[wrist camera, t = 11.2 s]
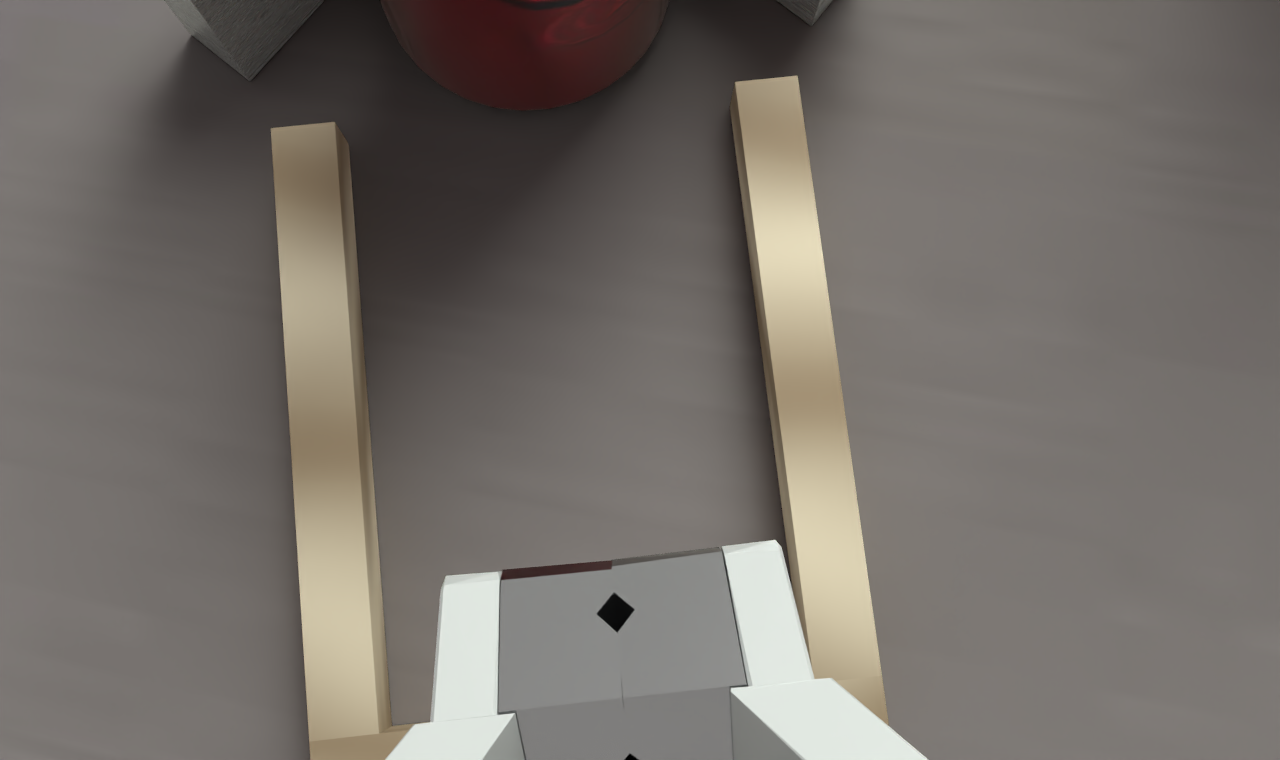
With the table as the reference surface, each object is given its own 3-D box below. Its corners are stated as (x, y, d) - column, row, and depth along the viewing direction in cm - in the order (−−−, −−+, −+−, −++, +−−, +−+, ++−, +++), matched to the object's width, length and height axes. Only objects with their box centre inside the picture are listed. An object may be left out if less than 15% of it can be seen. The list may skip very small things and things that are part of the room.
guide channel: (287, 151, 30) (270, 128, 29) (789, 100, 31) (797, 75, 29) (330, 801, 28) (313, 814, 26) (877, 737, 28) (891, 746, 27)
